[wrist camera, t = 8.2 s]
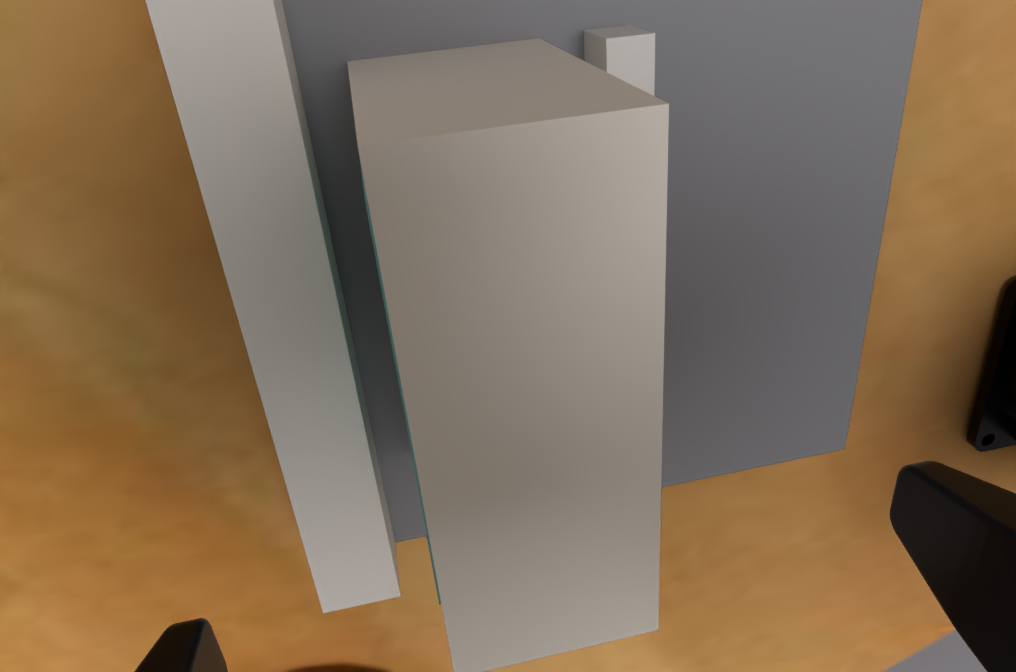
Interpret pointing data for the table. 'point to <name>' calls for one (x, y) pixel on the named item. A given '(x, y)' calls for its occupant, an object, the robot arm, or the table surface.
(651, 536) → the carton
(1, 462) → the table surface
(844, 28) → the shelf board
